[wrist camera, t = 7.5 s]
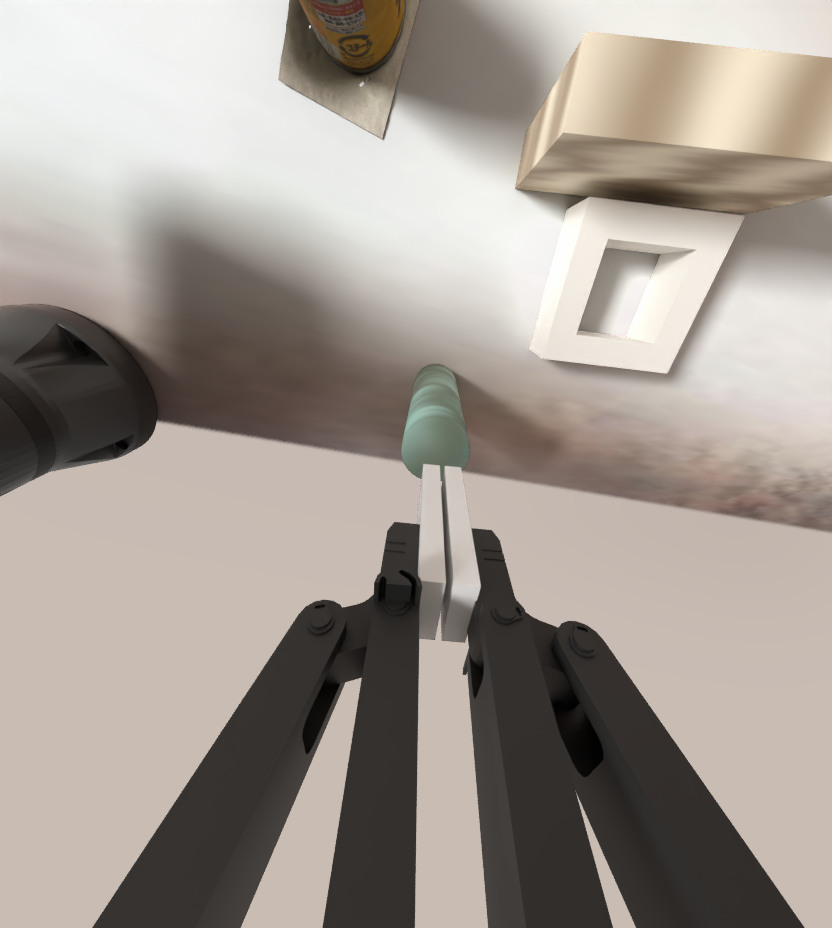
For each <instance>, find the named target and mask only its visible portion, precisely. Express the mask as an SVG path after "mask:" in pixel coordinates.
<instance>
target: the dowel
mask: <svg viewBox="0 0 832 928" xmlns="http://www.w3.org/2000/svg"><path fill="white" fill-rule="evenodd" d="M401 456H402V460H403V462H404V464H405V466H406V467H407V469H408V470H409V471H410V472H411V473H412V474H413V475H415V476H417V477H418V478H421V479H422V472H423V464H430V465H440V478H441V481H443V474H444V468H445V466H451V467H461V470H463V469H464V467H465V466H466V464H467V462H468V460H469V456H470V446H469V441H468V436H467V432H466V427H465V422H464V417H463V412H462V408H461V403H460V398H459V393H458V388H457V384H456V379H455V376H454V374H453V373H452V371H451V370H450V369H448V368H447V367H445V366H443V365H439V364H432V365H428V366H426V367H424V368H423V369H422V370H421V371H420V372H419V373H418V375H417V377H416V379H415V384H414V389H413V393H412V398H411V403H410V408H409V413H408V417H407V422H406V427H405V432H404V437H403V441H402V447H401Z"/></svg>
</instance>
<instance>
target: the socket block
mask: <svg viewBox="0 0 832 928" xmlns="http://www.w3.org/2000/svg"><path fill="white" fill-rule="evenodd" d="M744 218H745V216H743V215H734V214H726V213H718V212H710V211H702V210H694V209H686V208H677V207H669V206H661V205H653V204H645V203H637V202H629V201H620V200H612V199H604V198H596V197H588V198H586V199H585V200H583V201H581V202H579V203H577V204H576V205H574V206H572V207H570V208H568V209H567V211H566V215H565V218H564V222H563V226H562V230H561V233H560V237H559V241H558V244H557V248H556V252H555V255H554V259H553V263H552V267H551V270H550V274H549V278H548V281H547V285H546V289H545V292H544V296H543V300H542V304H541V307H540V311H539V315H538V318H537V322H536V326H535V330H534V333H533V337H532V341H531V344H530V348H529V350H531V351H532V352H533V353H535V354H536V355H538V356H539V357H540V358H542V359H549V360H557V361H566V362H574V363H583V364H591V365H599V366H608V367H616V368H624V369H633V370H641V371H649V372H658V373H666V374H667V373H668V371H669V369H670V367H671V365H672V363H673V361H674V359H675V357H676V355H677V353H678V351H679V349H680V347H681V345H682V343H683V341H684V339H685V337H686V335H687V333H688V331H689V329H690V327H691V325H692V323H693V321H694V319H695V316H696V314H697V312H698V310H699V308H700V306H701V304H702V302H703V300H704V298H705V296H706V294H707V292H708V290H709V288H710V286H711V284H712V282H713V280H714V278H715V276H716V274H717V272H718V270H719V268H720V266H721V264H722V262H723V260H724V258H725V256H726V254H727V252H728V250H729V248H730V246H731V244H732V242H733V240H734V238H735V236H736V234H737V232H738V230H739V228H740V226H741V224H742V222H743V220H744ZM605 248H613V249H621V250H629V251H637V252H645V253H654V254H660V256H659V259H658V261H657V264H656V266H655V269H654V271H653V274H652V276H651V278H650V281H649V283H648V286H647V288H646V291H645V293H644V296H643V298H642V300H641V303H640V305H639V308H638V310H637V313H636V315H635V318H634V320H633V322H632V325H631V327H630V330H629V332H628V335H627V336H619V335H611V334H603V333H594V332H586V331H578V328H579V325H580V322H581V319H582V316H583V313H584V310H585V307H586V304H587V301H588V298H589V295H590V292H591V289H592V286H593V283H594V280H595V277H596V274H597V271H598V268H599V265H600V262H601V259H602V256H603V253H604V250H605Z"/></svg>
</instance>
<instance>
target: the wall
mask: <svg viewBox="0 0 832 928" xmlns="http://www.w3.org/2000/svg"><path fill="white" fill-rule="evenodd" d="M515 189H523V190H532V191H542V192H551V193H560V194H569V195H579V196H588V197H597V198H606V199H616V200H625V201H634V202H643V203H652V204H662V205H671V206H680V207H689V208H699V209H708V210H717V211H726V212H735V213H745V214H748V213H753V212H757V211H762V210H766V209H771V208H775V207H780V206H784V205H789V204H793V203H798V202H802V201H807V200H811V199H816V198H821V197H825V196H830V195H832V58H828V57H819V56H810V55H800V54H791V53H782V52H773V51H764V50H754V49H745V48H736V47H727V46H717V45H708V44H699V43H690V42H681V41H671V40H662V39H653V38H644V37H635V36H625V35H616V34H607V33H598V32H589V31H587V32H586V33H585V35H584V37H583V38H582V40H581V42H580V43H579V45H578V47H577V48H576V50H575V52H574V53H573V55H572V57H571V58H570V60H569V62H568V63H567V65H566V67H565V68H564V70H563V72H562V73H561V75H560V77H559V78H558V80H557V82H556V83H555V85H554V87H553V88H552V90H551V92H550V93H549V95H548V97H547V98H546V100H545V102H544V103H543V105H542V106H541V108H540V110H539V111H538V113H537V115H536V116H535V118H534V120H533V121H532V123H531V125H530V126H529V128H528V130H527V131H526V136H525V141H524V146H523V151H522V157H521V162H520V167H519V172H518V177H517V183H516V188H515Z"/></svg>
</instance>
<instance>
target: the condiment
mask: <svg viewBox="0 0 832 928" xmlns="http://www.w3.org/2000/svg"><path fill="white" fill-rule="evenodd" d="M419 2H420V0H290V1H289V11H288V19H287V24H286V34H285V40H284V47H283V52H282V57H281V64H280V72H279V79H278V80H280V81H281V82H283V83H285V84H286V85H288V86H290V87H292V88H293V89H294V90H296V91H298V92H300V93H302V94H303V95H305V96H307V97H309V98H310V99H312V100H314V101H315V102H317V103H319V104H321V105H322V106H324V107H326V108H328V109H330V110H331V111H333V112H335V113H337V114H338V115H340V116H342V117H343V118H345V119H347V120H349V121H351V122H353V123H355V124H356V125H358V126H360V127H362V128H363V129H365V130H367V131H369V132H371V133H373V134H374V135H376V136H378V137H380V138H381V139H382V137H383V134H384V130H385V126H386V122H387V118H388V115H389V112H390V108H391V103H392V100H393V96H394V92H395V89H396V86H397V81H398V77H399V75H400V71H401V67H402V64H403V60H404V57H405V53H406V50H407V46H408V42H409V39H410V35H411V31H412V27H413V24H414V20H415V16H416V13H417V9H418V6H419ZM309 25H311V28H310V29H309ZM366 77H369V78H370V79H369V80H368V81H367V82H366V81H365V78H366ZM362 81H364V83H365V84H364V85H363V86H362V87H360V86H359V84H360V83H361V82H362Z"/></svg>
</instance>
